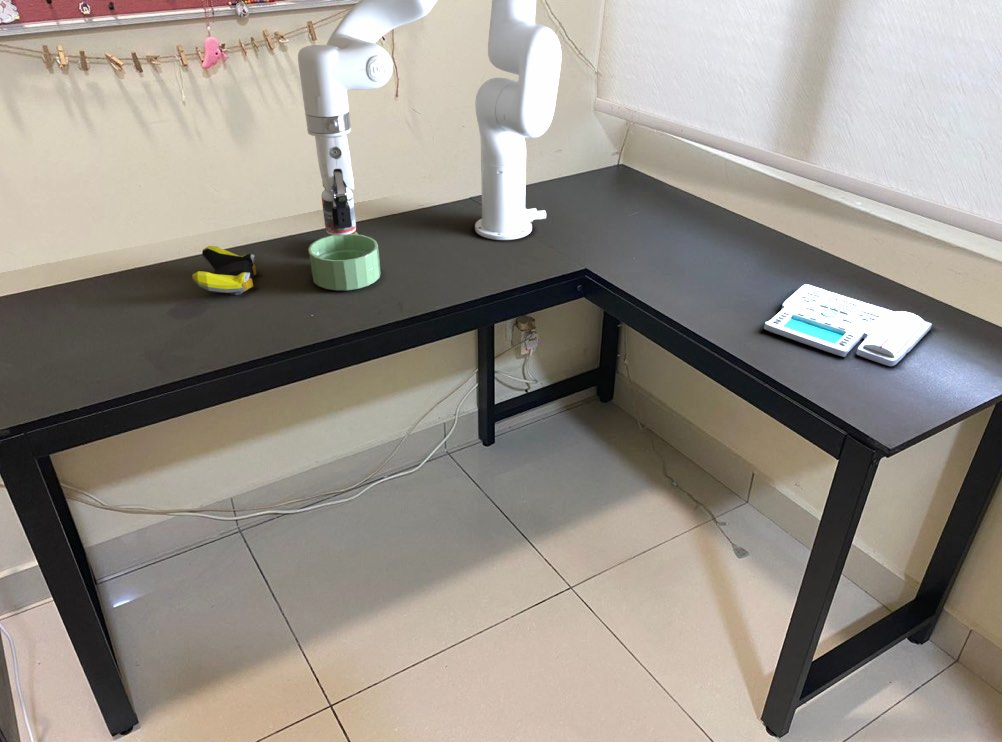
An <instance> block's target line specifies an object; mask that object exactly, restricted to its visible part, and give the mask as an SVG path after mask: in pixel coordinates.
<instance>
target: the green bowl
mask: <svg viewBox="0 0 1002 742" xmlns="http://www.w3.org/2000/svg"><path fill="white" fill-rule="evenodd" d="M307 251H308V258H309V264H310V270H311V271H310V272H311V277H312V281H313V283H314V284H315V285H316V286H317V287H320V288H322V289H325V290H331V291H352V290H358V289H362V288H365V287H368V286H370V285H371V284H374V283H375V282H377V281H378V280H379V279H380V277H381V262H380V251H379V244H378V242H377V240H375V239H374V238H372V237H371V236H367V235H364V234H358V233H357V234H348V235H342V236H336V235H332V236H330V235H327V236H324V237H322V238H319V239H316V240H315V241H314V242H312V243H311V244H310V245H309V247H308V250H307Z"/></svg>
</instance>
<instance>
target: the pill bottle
mask: <svg viewBox="0 0 1002 742" xmlns="http://www.w3.org/2000/svg"><path fill="white" fill-rule="evenodd" d="M321 180H322V179H321ZM321 183H322V188H323V189H324V190H322V192H321V194H320V195H321V205H322V211H323V212H322V213H323V219H324V220H323V221H324V229H325V231H326V233H327V234H328V235H336V236H342V235H348V234H351V233H353V232H354V231H356V229H357V223H356V215H355V212H356V211H355V204H354V203H355V202H354V193H353V192H352V191H351V190H350V189H348V188H347V186H346V190H347V197H348V203H349V206H350V215H351V224H352V226H351V227H350V228H342V229H335V228H334V224H333V215H332V207H333V203H332V197H331V193H330V192H328V191H327V189H326V187H325V184H324V181H323V180H322V181H321ZM333 190H337V188H336V187H333ZM336 197H337V194H335V198H336Z"/></svg>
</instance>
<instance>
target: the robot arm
mask: <svg viewBox="0 0 1002 742" xmlns="http://www.w3.org/2000/svg"><path fill="white" fill-rule="evenodd" d="M437 2H438V0H359V1H357V3H355V4H354V5H353V6H352V7H351V8H350V9H349V10H348V11H347V12H346V14H345V15H344V16H343V18H342V19H341V21H340V22H339V23H338V25H337V26H336V28H335V29H334V30H333V32H332V33H331V34H330V36H329V37H328V38H329V39H328V40H327V43H326V44H312V45H311V44H310V45H307V46H304V47H302V48H301V49H299V50H298V54H297V63H298V71H299V77H300V85H301V93H302V100H303V106H304V107H303V108H304V114H305V123H306V130H307V131H306V132H307V134H308V135H310V136H312V137H314V141H315V148H316V149H315V150H316V156H317V162H318V168H319V172H320V173H319V174H320V177H321V180H323V181H324V184H325V187H326V189H327V191H328V192H330V193H331V197H332V203H333V207H332V215H333V224H334V228H335V229H342V228H350V227H351V226H352V224H351V215H350V206H349V203H348V197H347V190H346V186H347V188H348V189H350V190H351V192H352V191H355V182H354V176H353V175H354V174H353V167H352V159H351V153H350V147H349V142H348V141H349V140H348V136H347V134H349V133H351V132H352V128H351V118H350V107H349V99H348V91H349V90H351V91H353V90H360V91H365V90H366V91H371V90H376V89H380V88H381V87H383V86H385V85H386V84H387V83H388V82H389V80H390V79H391V77H392V75H393V71H394V64H393V59H392V57H391V56H390V54H389V52H388V51H387V50H386V49H385V48H384V47H382V46H381V45H379V44H377V42H378V41H379V40H380V39H381V38H382V37H383V36H385V35H386V34H387V33H389V32H390V31H392V30H394V29H396V28H399V27H400V26H403V25H407V24H410V23H413V22H415V21H417V20H421V18H424V17H425V16H428V14H429V13H430V12H431V11H432V9H433V7H434V6H435V5H436V3H437ZM490 9H491V10H490V20H489V29H488V41H487V56H488V59H489V62H490V63H491V64H492V66H493V67H495V68H497V69H499V70H501V71H503V72H506V73H510V74H513V75H517V76H518V81H517V80H515V79H510V78H507V77H492V78H490V79H488V80H486V81H485V82H483V83H482V84H481V86H480V87H479V88H478V90H477V92H476V95H475V103H474V106H475V116H476V120H477V126H478V131H479V139H480V140H479V141H480V176H481V178H480V180H481V182H480V184H481V185H480V186H481V218H480V219H478V220H477V221H476V222H475V224H474V230H475V232H476V234H478V235H479V236H481V237H483V238H485V239H490V240H495V241H512V240H513V241H514V240H518V239H522V238H524V237H526V236H529V234H531V232H532V231H533V224H532V223H533V221H534V220H538V221H540V220H546V219H547V212H546V210H545V209H543V210H537V208H536V207H534V208H527V207H526V188H527V187H526V184H527V183H526V182H527V181H526V180H527V179H526V178H527V176H526V175H527V144H526V139H536V138H540V137H541V136H542V135H544V134H545V133H546V132H547V130H548V129H549V127H550V126H551V124H552V121H553V117H554V115H555V109H556V102H557V95H558V88H559V81H560V74H561V68H562V66H561V65H562V47H561V43H560V40H559V38H558V35H557V34H556V33H555V32H554V30H552V29H551V27H548V26H546V25H544V24H539V23H536V10H537V0H491V8H490ZM525 138H526V139H525ZM333 187H336V188H337V190H333ZM335 194H337V197H336V198H335Z"/></svg>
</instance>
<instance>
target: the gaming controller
mask: <svg viewBox="0 0 1002 742" xmlns="http://www.w3.org/2000/svg"><path fill="white" fill-rule="evenodd" d="M201 255H202V258H203V259H204V261H206V263H207V264H208V265H209V266H210V267H211V269H212V270H213V271H214V272H213V273H211V272H208V271H200V270H198V271H196V272H194V273H192V277H191V278H192V282H193V283H194V284H195V285H196V286H197V287H199V288H201V289H202V290H203V291H206V292H209V293H211V294H230V295H231V296H239V295H242V293H243V294H244V292H246V291H248V290H250V289H251V288H253V287H254V279H255V276H256V275H257V270H256V265H255V264H254V262H255V254H251V253H245V254H244V255H238V254H236V253H233V252H232V251H229V250H227V249H224V248H222V247H220V246H214V245H208V246H206V247H205V248H203V249H202V252H201Z"/></svg>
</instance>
